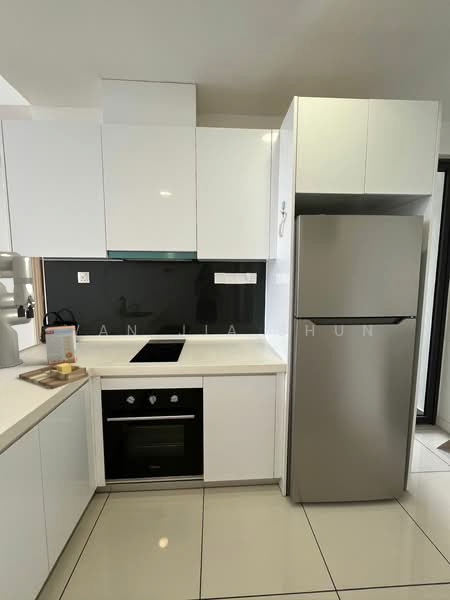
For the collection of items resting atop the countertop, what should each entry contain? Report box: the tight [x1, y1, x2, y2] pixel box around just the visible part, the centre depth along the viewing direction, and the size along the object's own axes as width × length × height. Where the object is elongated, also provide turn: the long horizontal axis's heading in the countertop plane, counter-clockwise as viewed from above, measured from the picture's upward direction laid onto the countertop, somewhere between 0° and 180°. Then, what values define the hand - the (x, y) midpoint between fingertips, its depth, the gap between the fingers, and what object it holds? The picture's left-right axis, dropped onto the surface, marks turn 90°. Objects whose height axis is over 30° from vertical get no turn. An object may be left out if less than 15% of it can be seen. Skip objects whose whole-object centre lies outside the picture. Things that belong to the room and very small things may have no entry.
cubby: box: [49, 363, 87, 381], centre depth 131 cm, size 13×10×3 cm
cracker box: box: [44, 325, 78, 366], centre depth 154 cm, size 14×6×21 cm, turn 108°
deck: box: [18, 364, 89, 390], centre depth 133 cm, size 29×17×2 cm, turn 62°
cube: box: [55, 363, 72, 373], centre depth 133 cm, size 4×4×4 cm
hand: (25, 317), depth 132 cm, fingers open, 7 cm apart
